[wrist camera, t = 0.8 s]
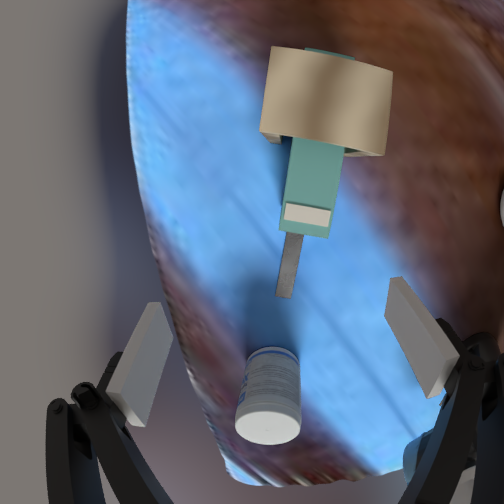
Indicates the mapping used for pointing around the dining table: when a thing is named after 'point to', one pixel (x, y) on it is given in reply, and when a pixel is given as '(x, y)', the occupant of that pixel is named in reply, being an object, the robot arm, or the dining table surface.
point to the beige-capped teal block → (311, 183)
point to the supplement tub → (270, 397)
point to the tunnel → (326, 101)
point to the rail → (289, 264)
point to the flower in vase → (502, 208)
